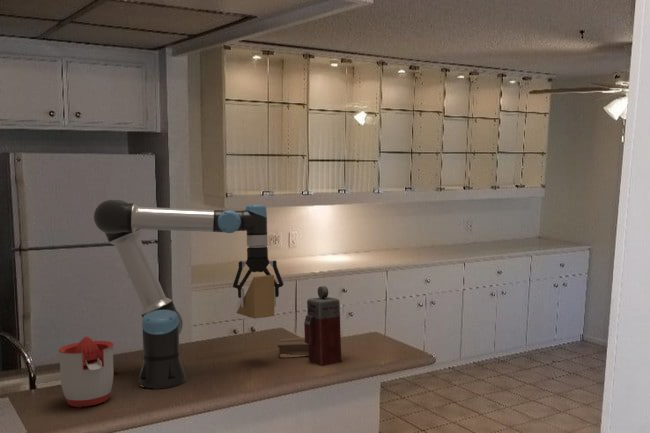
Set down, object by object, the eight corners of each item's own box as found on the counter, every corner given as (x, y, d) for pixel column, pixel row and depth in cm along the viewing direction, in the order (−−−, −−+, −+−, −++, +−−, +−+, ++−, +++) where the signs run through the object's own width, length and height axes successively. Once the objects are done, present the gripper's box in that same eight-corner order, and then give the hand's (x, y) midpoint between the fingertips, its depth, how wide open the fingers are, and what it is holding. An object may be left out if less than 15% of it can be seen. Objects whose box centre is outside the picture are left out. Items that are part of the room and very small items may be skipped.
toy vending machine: (303, 362, 220) (300, 286, 220) (328, 357, 226) (326, 284, 226) (315, 367, 212) (313, 289, 212) (341, 362, 218) (339, 286, 218)
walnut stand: (327, 356, 227) (327, 343, 227) (278, 358, 227) (277, 345, 227) (327, 349, 239) (327, 337, 239) (280, 350, 239) (280, 338, 239)
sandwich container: (255, 310, 228) (255, 271, 228) (275, 315, 215) (274, 274, 215) (235, 313, 223) (234, 273, 223) (254, 318, 211) (253, 276, 210)
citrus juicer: (68, 415, 168) (66, 345, 168) (55, 401, 182) (52, 336, 182) (124, 403, 178) (121, 337, 177) (107, 390, 192) (105, 329, 191)
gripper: (289, 245, 221) (291, 304, 221) (227, 246, 221) (228, 305, 221) (288, 246, 213) (290, 307, 214) (223, 248, 214) (225, 308, 214)
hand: (258, 306), depth 218 cm, fingers closed on sandwich container, 11 cm apart
